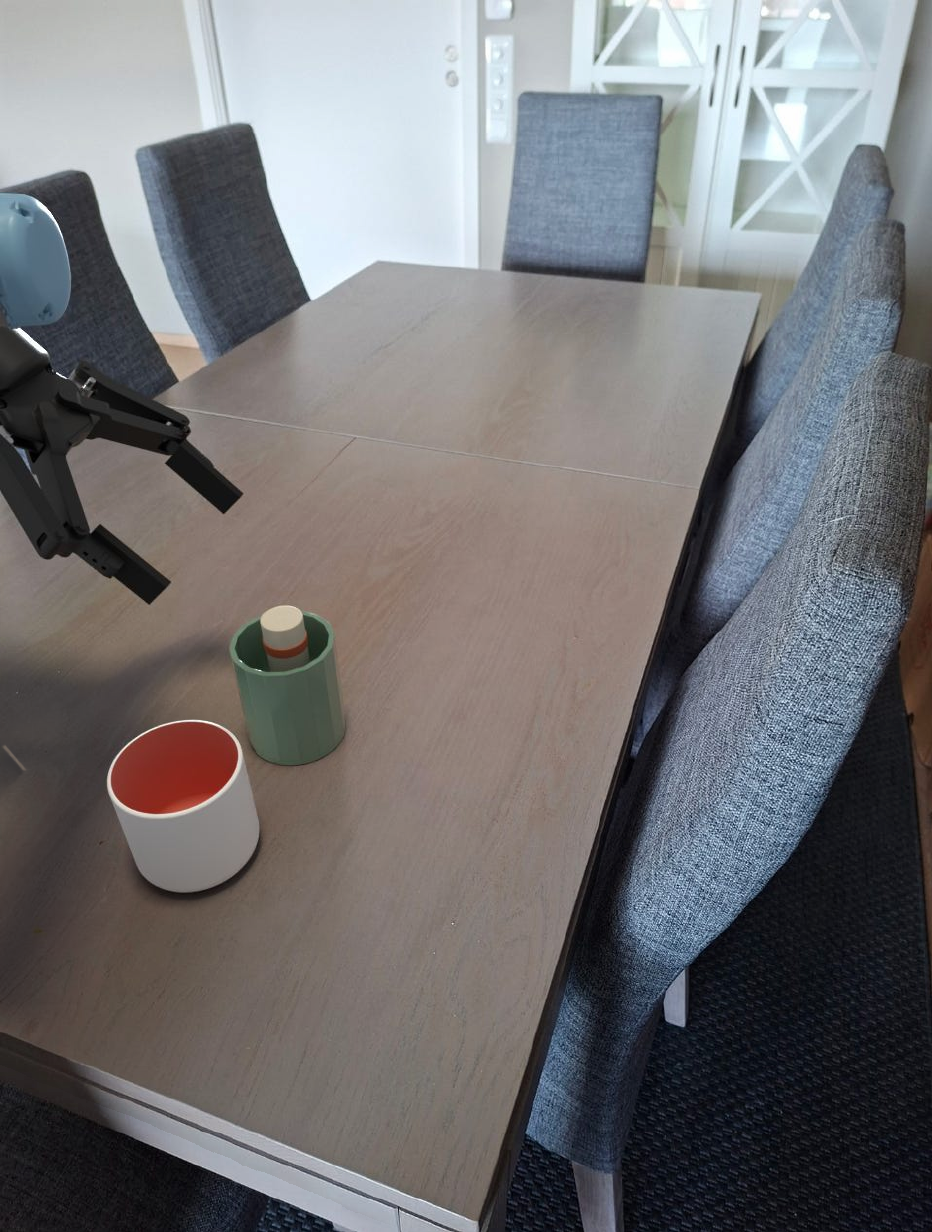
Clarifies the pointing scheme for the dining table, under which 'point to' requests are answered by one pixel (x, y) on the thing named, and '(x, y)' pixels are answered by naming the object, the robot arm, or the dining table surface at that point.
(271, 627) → the cream banded cylinder
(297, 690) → the tumbler
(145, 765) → the cup
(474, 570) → the dining table surface
